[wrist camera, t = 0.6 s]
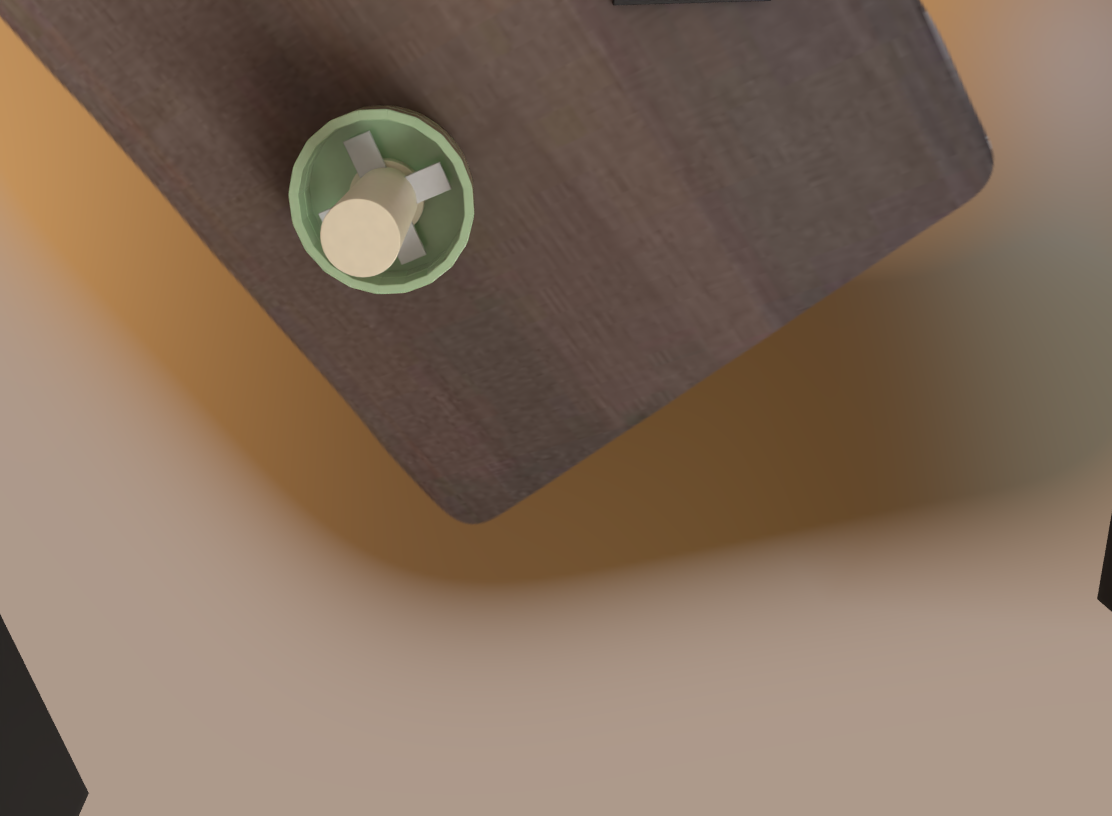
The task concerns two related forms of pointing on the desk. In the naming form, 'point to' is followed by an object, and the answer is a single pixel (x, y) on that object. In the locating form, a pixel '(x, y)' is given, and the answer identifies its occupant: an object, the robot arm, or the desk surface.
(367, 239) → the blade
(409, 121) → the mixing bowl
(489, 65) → the desk surface
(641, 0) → the mat
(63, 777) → the robot arm
